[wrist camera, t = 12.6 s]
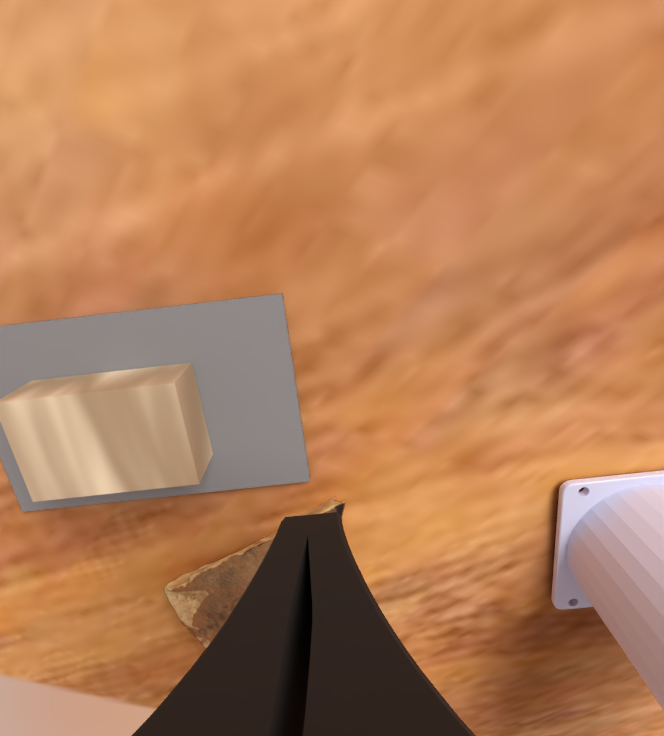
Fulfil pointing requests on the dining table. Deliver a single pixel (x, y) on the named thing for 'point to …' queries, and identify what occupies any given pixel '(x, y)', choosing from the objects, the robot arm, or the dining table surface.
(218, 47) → the dining table surface
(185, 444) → the beech block
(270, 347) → the felt mat
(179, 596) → the shard
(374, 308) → the dining table surface
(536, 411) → the dining table surface
